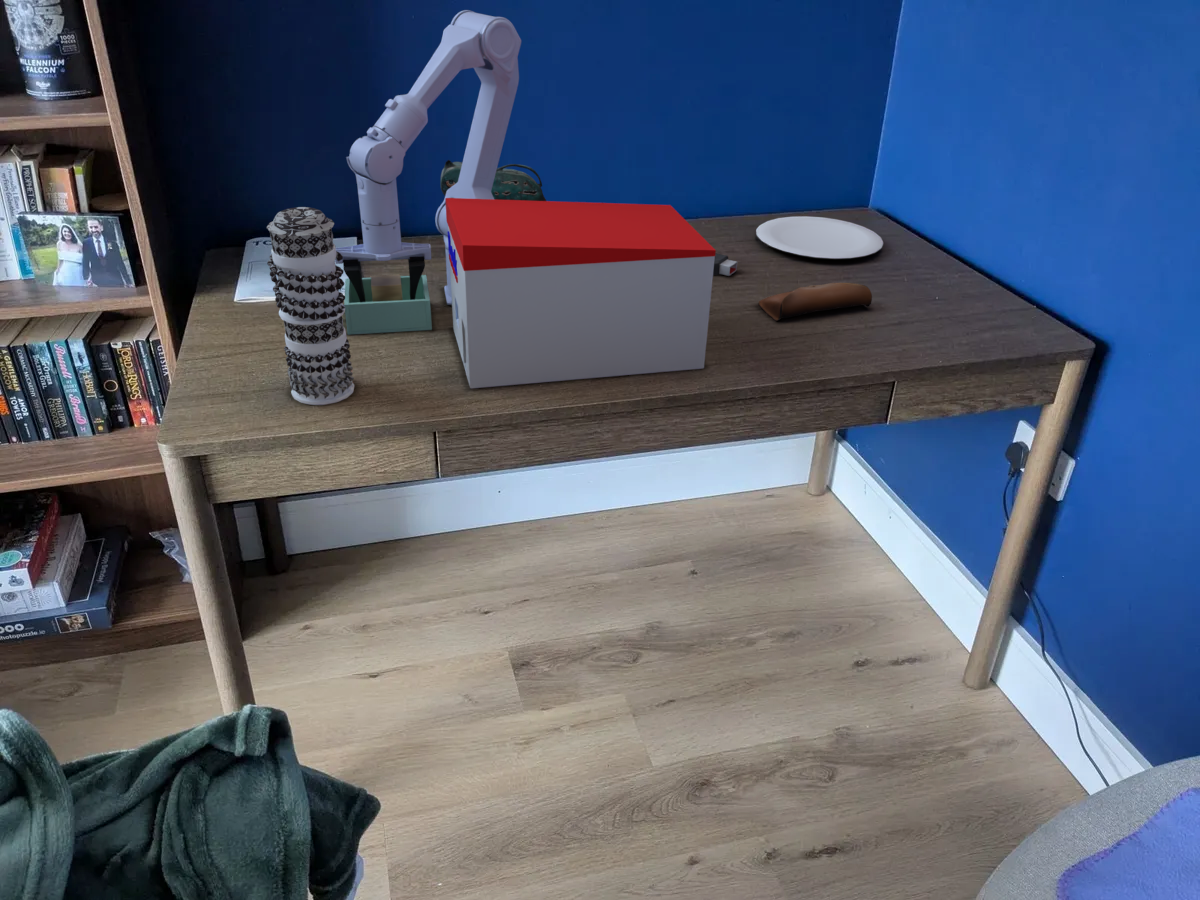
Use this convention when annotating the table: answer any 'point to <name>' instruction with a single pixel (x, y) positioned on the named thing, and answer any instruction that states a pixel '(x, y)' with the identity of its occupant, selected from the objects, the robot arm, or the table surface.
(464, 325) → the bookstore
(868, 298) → the sunglasses case
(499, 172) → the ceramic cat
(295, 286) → the decorative candle
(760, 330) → the table surface
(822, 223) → the plate
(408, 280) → the desk bin
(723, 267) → the usb drive
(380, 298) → the beech block
